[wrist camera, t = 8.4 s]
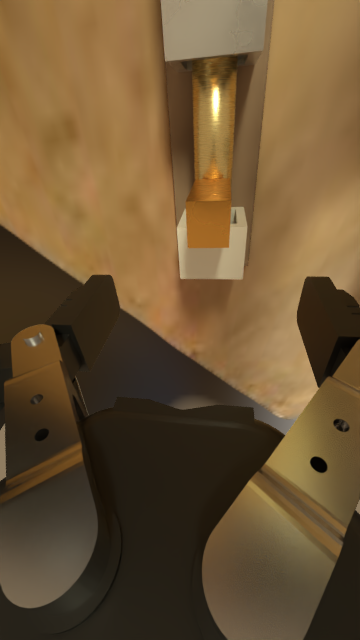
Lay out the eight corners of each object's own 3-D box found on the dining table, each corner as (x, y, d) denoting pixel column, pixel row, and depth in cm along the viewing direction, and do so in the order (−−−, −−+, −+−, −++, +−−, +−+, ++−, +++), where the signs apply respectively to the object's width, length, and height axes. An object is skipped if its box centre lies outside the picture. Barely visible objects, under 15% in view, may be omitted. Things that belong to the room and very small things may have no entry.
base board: (293, -211, 15) (297, -229, 14) (247, 261, 32) (247, 265, 31) (151, -176, 16) (147, -191, 15) (180, 261, 33) (179, 265, 32)
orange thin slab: (239, 3, 18) (250, -85, 10) (228, 245, 28) (229, 298, 20) (192, 9, 18) (167, -70, 10) (198, 246, 29) (187, 297, 21)
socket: (243, 206, 27) (247, 226, 22) (240, 253, 30) (242, 279, 25) (185, 208, 28) (176, 227, 23) (187, 253, 31) (180, 278, 26)
